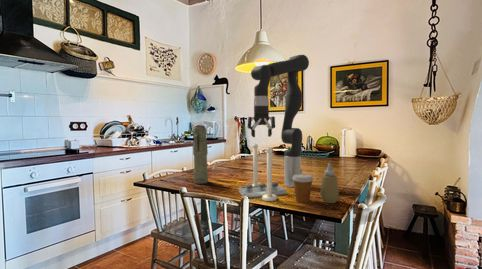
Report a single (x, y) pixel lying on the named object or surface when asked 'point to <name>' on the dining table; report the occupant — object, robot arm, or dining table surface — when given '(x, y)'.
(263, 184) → the middle paddle
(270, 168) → the near post
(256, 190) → the breaker panel
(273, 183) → the paddle
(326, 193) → the squeeze bottle
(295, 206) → the dining table surface
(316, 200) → the dining table surface
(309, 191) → the disposable coffee cup
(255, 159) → the far post
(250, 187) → the paddle
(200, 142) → the thermos
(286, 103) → the robot arm
